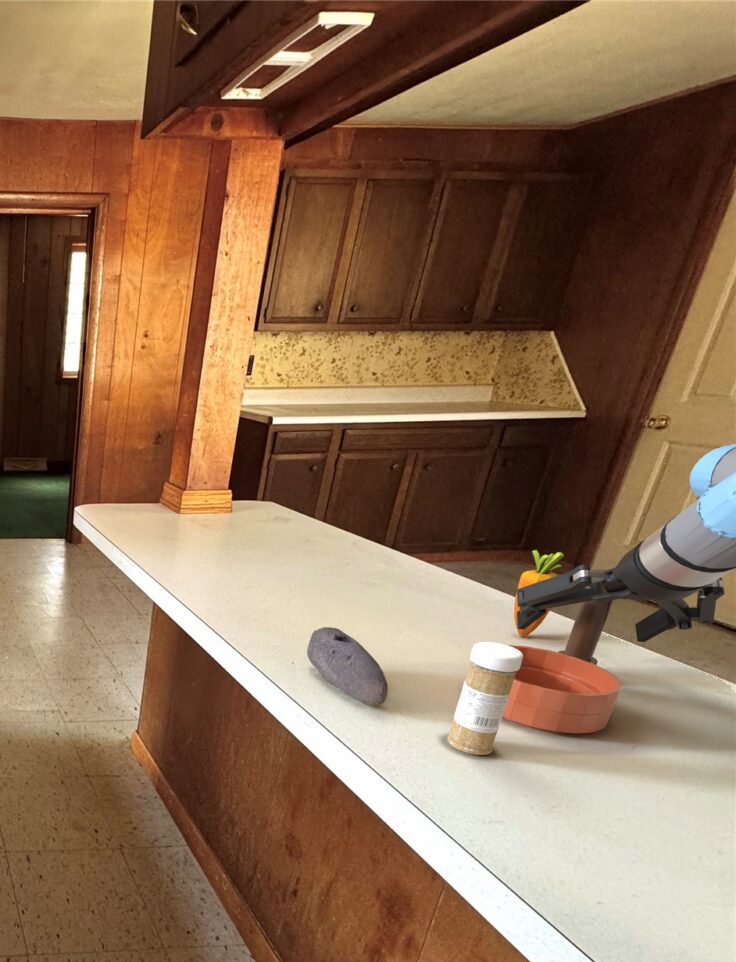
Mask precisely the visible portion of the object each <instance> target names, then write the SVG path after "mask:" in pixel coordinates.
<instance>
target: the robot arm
mask: <svg viewBox="0 0 736 962" xmlns="http://www.w3.org/2000/svg"><path fill="white" fill-rule="evenodd" d="M689 486H690V489H691V491H692V492H693V493H694V496H696V497H697V498H698V499H696V500H695V501H693V502H692V503H691V504H690V505H689V506H687V507H686V508H685V509H684V510H682V512H680V513H679V514H678V515H675V516H674V517H673V518H671V519H670V520H669V521H667V522H666V523H664V524H663V525H662V526H661V527H659V528H658V529H657V530H656V531H654V532H653V533H651V534H650V535H649V536H648V537H646V538H645V539H644V540H642V541H640V542H639V543H638V544H636V545H635V546H634V547H633V548H631V549H630V550H628V551H627V552H626V553H625V554H624V555H623V556H622V557H621V558H620V560H619V562H618V563H617V565H615V567H612V568H610V569H605V570H606V571H604V572H595V571H593V570H591V569H592V568H591V566H590V565H589V564H580V565H577V566H576V567H574V568H573V569H571V570H570V571H567V572H564V573H561V574H559V575H558V574H557V576H555V577H552V578H549V579H546V580H543V581H540V582H537V583H534V584H531V585H528V586H525V587H522V588H519V589H518V588H516V593H517V604H518V606H519V607H520V610H519V611H518V612H517V624H518V629H523V630H524V629H525V628H527V627H528V626H529V625H531V624H532V623H533V622H535V621H536V620H537V619H539V618H540V617H541V616H542V615H544V614H545V613H546V609H548V608H551V609H555V608H558V607H563V606H569V605H575V604H581V603H582V602H586V601H591V600H596V601H597V602H605V601H611V600H614V601H616V600H633V601H639V602H647V601H652V602H653V603H656V605H658V607H659V608H660V609H657V610H656V611H654V612H653V613H651V614H649V615H648V616H646V617H644V618H643V619H640V620H639V621H637V622H635V624H634V626H635V634H636V641H637V642H639V643H646V642H647V641H649V640H651V639H653V638H655V637H657V636H658V635H660V634H662V633H664V632H666V631H670V630H673V629H675V628H677V627H678V629H679V630H684V631H685V630H687V631H688V630H691V629H693V623H692V622H698V623H699V624H700V625H712V624H713V623H714V621H715V612H716V605H717V601H718V599H720V598H721V597H723V596H724V595H725V594H726V593H725V588H724V583H723V577H724V576H726V575H727V574H729V573H730V572H732V571H734V570H736V443H733V444H727V445H724V446H721V447H717V448H714V449H712V450H710V451H709V452H707V453H706V454H704V455H703V456H702V457H701V458H700V459H699V460H698V461H697V462H696V463H695V464H694V466H693V467H692V470H691V472H690V475H689ZM602 585H603V586H604V588H605V589H606V591H607V592H608V593H606V594H603V589H602ZM693 594H697V598H696V606H694V607H693V606H690V605H689V604H688V603H687V601H685V598H688V597H690V596H691V595H693Z"/></svg>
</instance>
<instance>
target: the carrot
mask: <svg viewBox="0 0 736 962" xmlns="http://www.w3.org/2000/svg"><path fill="white" fill-rule="evenodd" d="M531 553H532V556H533V558H534V561H535V567H536V569H531V570H527V571H524V572H522V574H521V575H520V578H519V582H518V585H517V589H519V588H522V587H525V586H528V585H531V584H534V583H537V582H540V581H543V580H546V579H549V578H552V577H555V576H558V574H557V573H555V572H553V571H555V570H558V569H560V568H562V565H561V564H557V563H558V562H560V561H561V560H562V559H563V558H564V557H565V555H564V553H563V552H561V551H558V552H556V553H550V554H549V555H548V554H544V555H542V556H540V553H539V551H538V550H537V549H534V550H532V551H531ZM513 607H514V608H513V611H514V612H513V618H514V623H515V624H514V625H515V627H516V630H517V632H518V636H520V638H525V637H528V636H529V635H530V634H532V633H533V632H534V631H535V630H536V629H538V627H539V626H540V625H541V624H542V623H543V622H544V620H545V619H546V617H547V616H548V614H549V612H550V611H551V609H552V608H548V609H546V613H545V614H544V615H542V616H541V617H540V618H539V619H537V620H536V621H535V622H533V623H532V624H531V625H529V626H528V627H527V628H525V629H524V630H523V629H518V624H517V612H518V611H519V610H520V607H519V606H518V604H517V592H516V594H515V597H514V606H513Z"/></svg>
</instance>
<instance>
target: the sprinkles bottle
mask: <svg viewBox="0 0 736 962" xmlns="http://www.w3.org/2000/svg"><path fill="white" fill-rule="evenodd" d="M508 645H509V644H504V643H499V642H492V641H480V642H476V643H475V644H473V647H472V650H471V652H470V657H469V666H468V670H467V673H466V678H465V680H464V681H463V685H462V688H461V692H460V695H459V699H458V702H457V705H456V708H455V712H454V715H453V721H452V724H451V728H450V731H449V734H448V735H447V737H446V739H447V742H448V743H449V744H450V746H451V747H453V748H454V749H457V750H458V751H461V752H463V753H466V754H468V755H469V754H470V755H474V756H486V755H490V754H491V753H492V752H493V751H494V744H495V743H494V742H495V740H496V737H497V734H498V731H499V729H500V725H501V722H502V719H503V713H504V711H505V707H506V704H507V701H508V698H509V695H510V691H511V688H512V684H513V681H514V678H515V674H516V673H517V672H518V670H519V669H520V666H521V663H522V659H523V654H522V653H521V652H520V651H519V650H518V649H516V648H513V647H511V646H508Z"/></svg>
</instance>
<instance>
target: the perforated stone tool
mask: <svg viewBox="0 0 736 962" xmlns="http://www.w3.org/2000/svg"><path fill="white" fill-rule="evenodd" d="M306 655H307V658H308V660H309V661H310V664H311V665H312V666H313V667H314V668H315V669H316V671H317V672H318V673H319V674H320V675H321V676H322V677H323V678H324V679H326V680H327V681H328V682H329V683H331V685H334V686H335V687H336V688H337V689H339V690H340V691H342V692H344V693H345V694H347V695H348V696H350V697H351V698H353V699H355V700H356V701H358V702H361V703H362V704H365V705H369V706H373V707H375V706H380V705H381V704H383V703H384V702H385V701H386V699H387V697H388V695H389V685H388V684H389V683H388V682H387V678H386V676H385V673H384V672H383V669H382V667H381V666H380V664H379V663H378V661H377V660H376V659H375V657H373V656H372V655H371V653H370V652H369V651H368V650H367V649H365V647H364V646H363V645H362V644H361V643H359V641H357V640H356V639H355V638H353V637H351V636H350V635H348V634H346V633H345V632H343V630H340V629H339V628H336V627H331V626H330V627H329V626H324V627H323V626H322V627H321V628H318V629H315V630H313V632H312V633H311V635H310V639H309V641H308V645H307V649H306Z"/></svg>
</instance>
